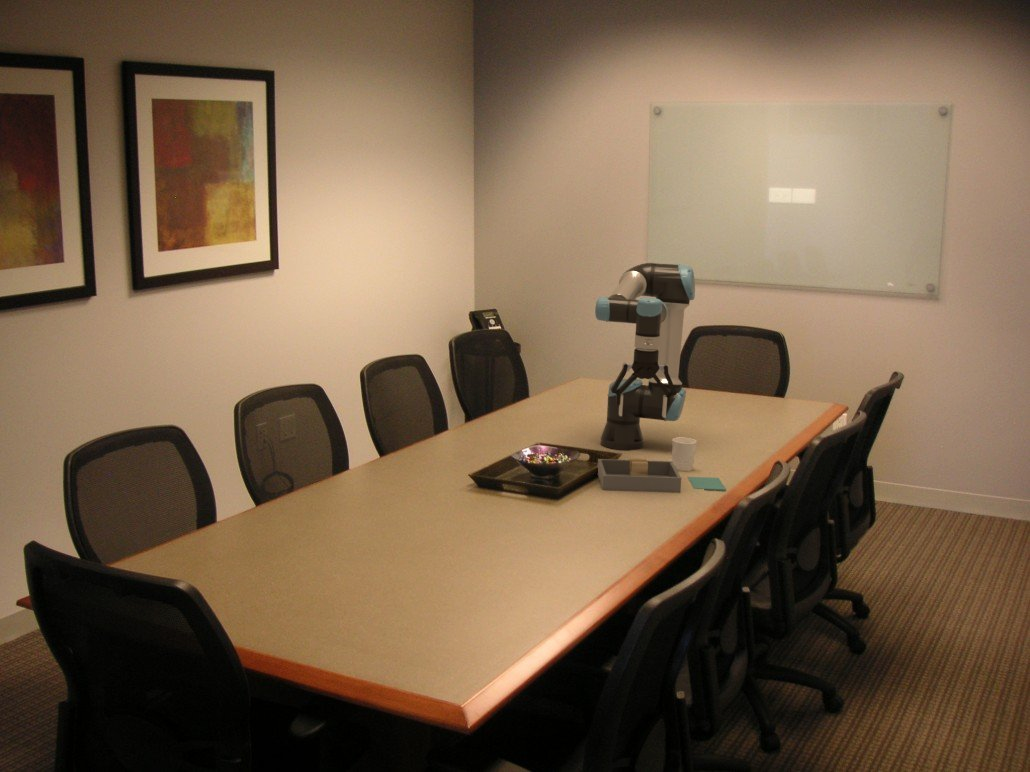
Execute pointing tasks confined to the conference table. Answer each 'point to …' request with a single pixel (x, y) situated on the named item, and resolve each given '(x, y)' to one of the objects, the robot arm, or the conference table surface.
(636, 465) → the maple block
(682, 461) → the white cup
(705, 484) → the teal mat
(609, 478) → the crate
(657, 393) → the robot arm
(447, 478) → the conference table surface
